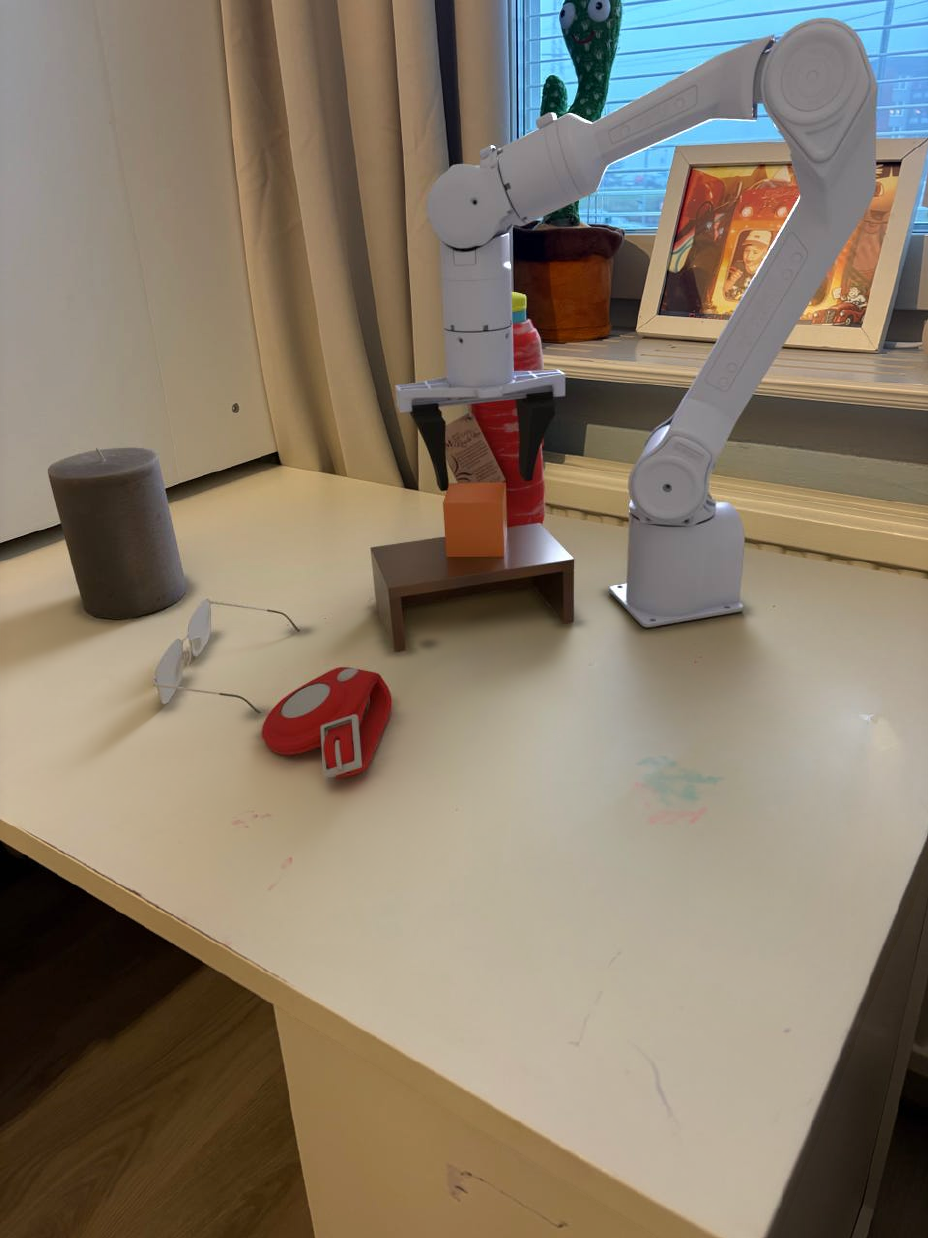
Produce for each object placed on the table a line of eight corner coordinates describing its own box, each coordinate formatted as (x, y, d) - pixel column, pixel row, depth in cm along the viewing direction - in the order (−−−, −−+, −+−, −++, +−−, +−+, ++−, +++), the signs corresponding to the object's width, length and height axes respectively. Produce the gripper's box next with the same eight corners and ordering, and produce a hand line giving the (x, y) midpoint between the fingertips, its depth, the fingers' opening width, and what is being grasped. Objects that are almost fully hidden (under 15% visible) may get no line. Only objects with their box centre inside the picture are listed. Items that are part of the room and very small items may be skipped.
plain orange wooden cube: (507, 534, 82) (505, 482, 79) (504, 557, 77) (502, 501, 75) (452, 535, 82) (449, 482, 80) (446, 557, 78) (442, 502, 76)
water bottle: (474, 570, 90) (461, 306, 78) (431, 546, 96) (413, 298, 84) (567, 539, 96) (568, 290, 84) (521, 518, 101) (516, 283, 90)
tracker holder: (228, 727, 65) (324, 644, 70) (258, 773, 67) (349, 688, 72) (329, 758, 56) (429, 660, 61) (359, 809, 58) (454, 710, 63)
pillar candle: (107, 630, 82) (65, 471, 75) (68, 598, 89) (26, 449, 82) (205, 595, 88) (174, 444, 81) (161, 567, 94) (130, 426, 87)
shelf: (540, 581, 87) (540, 522, 84) (574, 621, 79) (574, 558, 76) (376, 607, 84) (370, 547, 81) (394, 652, 76) (388, 587, 73)
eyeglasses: (213, 630, 81) (208, 590, 79) (301, 635, 81) (299, 595, 79) (156, 717, 69) (149, 672, 67) (260, 724, 68) (256, 678, 66)
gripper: (398, 342, 70) (412, 506, 77) (576, 326, 73) (575, 487, 79) (387, 327, 77) (400, 481, 83) (551, 313, 79) (552, 463, 85)
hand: (484, 482), depth 81 cm, fingers open, 7 cm apart
